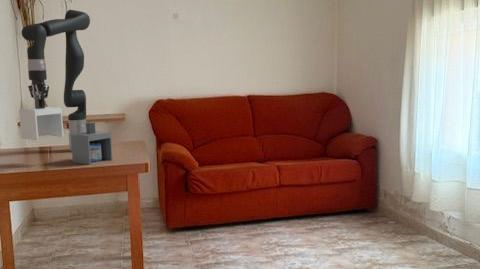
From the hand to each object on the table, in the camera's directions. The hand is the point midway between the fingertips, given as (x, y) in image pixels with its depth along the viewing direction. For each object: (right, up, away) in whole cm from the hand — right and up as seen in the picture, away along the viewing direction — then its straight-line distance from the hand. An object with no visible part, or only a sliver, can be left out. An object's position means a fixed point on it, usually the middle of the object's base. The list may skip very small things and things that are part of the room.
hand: (40, 107), depth 214 cm
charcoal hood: (+21, -25, +11) cm, 35 cm away
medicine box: (+21, -26, +11) cm, 35 cm away
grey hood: (0, -14, +2) cm, 14 cm away
